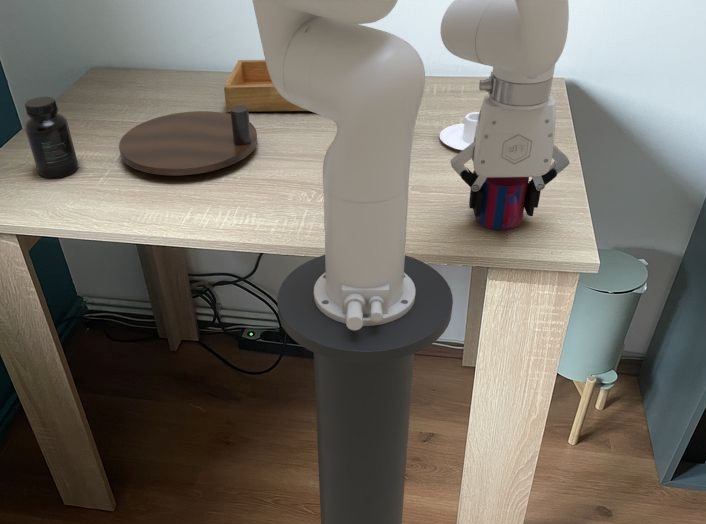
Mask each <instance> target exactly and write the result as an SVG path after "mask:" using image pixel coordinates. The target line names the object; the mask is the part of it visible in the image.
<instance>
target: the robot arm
mask: <svg viewBox="0 0 706 524" xmlns="http://www.w3.org/2000/svg"><path fill="white" fill-rule="evenodd" d="M398 1H399V0H252V4H253V9H254V14H255V19H256V24H257V28H258V33H259V38H260V44H261V46H262V52H263V56H264V60H265V61H266V65H267V69H268V72H269V75H270V78H271V80H272V83H273V85H274V87H275V88H276V90H277V91H278V93H279V94H280V95H281V96H282V97H283V98H284V99H286V100H287V101H289V102H291V103H293V104H295V105H297V106H299V107H301V108H304V109H306V110H309V111H308V112H312V113H313V114H317V115H320V116H322V117H323V118H325V119H328V120H331V121H332V122H334V123H335V125H336V134H335V136H334V138H333V140H332V141H331V143H330V145H329V146H328V148H327V150H326V152H325V155H324V158H323V161H322V162H323V163H322V187H323V188H322V189H323V226H324V227H323V228H324V229H323V230H324V255H325V268H326V272H325V273H324V274H323V275H321V276H320V277H319V279H318V280H317V281H316V284H315V286H314V301H315V303H316V306H317V307H318V308H319V310H320V311H321V312H322V313H324V314H325V315H326V316H328V317H329V318H331V319H333V320H335V321H338V322H341V323H344V324H346V325H347V327H348V328H349V329H351V330H359V329H360V328H362V326H375V325H381V324H385V323H389V322H392V321H394V320H396V319H398V318H400V317H402V316H403V315H405V314H406V313H407V312H408V311H409V310H410V309H411V308H412V306H413V304H414V301H415V292H416V289H415V285H414V283H413V281H412V280H411V278H410V277H409V276H408V275H406V274H405V273H404V262H405V255H406V242H407V227H408V226H407V222H408V205H409V187H410V171H411V170H410V169H411V156H412V146H413V140H414V134H415V128H416V124H417V119H418V115H419V111H420V108H421V104H422V100H423V96H424V93H425V86H426V70H425V66H424V62H423V60H422V57H421V56H420V54H419V52H418V51H417V50H416V48H414V46H412V44H411V43H409V42H408V41H407V40H406V39H403V38H402V37H400V36H398V35H396V34H394V33H391V32H388V31H385V30H381V29H378V28H374V27H371V26H367V24H373V23H377V22H378V21H380V20H382V19H384V18H386V17H387V16H388V15H390V13H391V12H392V11H393V9H394V8H395V6H396V5H397V3H398ZM569 7H570V6H569V0H453V1H451V3H450V4H449V6H448V7H447V8H446V10H445V12H444V14H443V16H442V18H441V23H440V32H439V33H440V39H441V41H442V44H443V46H444V47H445V49H446V50H447V51H448V52H449V53H450V54H451V55H453V56H455V57H457V58H459V59H462V60H465V61H469V62H473V63H476V64H480V65H484V66H489V67H492V71H490V75H489V76H488V78H485V79H479V83H478V90H479V91H480V92H483V91H484V92H485V93H487V94H486V95H485V96H484V98H483V100H482V103H481V106H480V110H479V112H480V113H479V117H478V121H477V126H476V130H475V135H474V141H473V143H472V144H470V145H469V146H468V147H466V148H465V149H464V150H460V152H459V153H457V154H456V155H455V156H453V157H452V158H451V159H450V166H451V168H452V170H454V171H455V172H456V173H457V175H459V176H460V178H461V180H462V181H463V182H464V183H465V184H466V185H468V187H470V190H469V191H470V192H469V200H468V206H469V209H470V210H472V211H473V214H474V217H475V218H476V217H479V216H480V215H481V207H482V199H483V190H482V185H483V183H484V182H485V180H486V179H487V177H529V178H531V179H530V180H529V182H528V188H527V194H526V200H525V206H524V211H525V214H526V215H527V216H528V217H533V216H534V211H535V208H536V209H538V207H539V203H540V198H541V193H542V191H544V189H545V188H546V185H548V184H549V183H550V182H552V181H553V180H554V179H555V178H556V177H557V176H558V174H560V173H561V172H562V171H564V170H565V169H566V168H567V167H568V166H569V165H570V163H571V162H570V160H569V158H568V156H567V155H566V154H565V153H564V152H563V151H562V150H561V149H560V148H559V147H558V146H556V145H555V136H556V135H555V134H556V119H557V106H556V105H557V104H556V103H557V102H556V100H555V98H554V97H553V96H552V95H551V92H552V87H553V80H554V74H555V69H556V63H557V62H558V61H559V59H560V58H561V56H562V54H563V51H564V49H565V47H566V42H567V38H568V32H569V19H570V12H569V11H570V9H569ZM365 24H366V25H365ZM470 160H471V161H472V162H473V171H471V170H470V169H469V168H468V167H467V166H466V165H465V164H466V163H467V162H469V161H470ZM553 160H554V161H553Z"/></svg>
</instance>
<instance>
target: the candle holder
mask: <svg viewBox="0 0 706 524" xmlns="http://www.w3.org/2000/svg"><path fill="white" fill-rule="evenodd" d="M479 113H480V111H479V112H478V111H473V112H469V113H467V114H466V115H465V116H464V122H462V123H456V124H455V123H454V124H452V125H449V126H447V127H445V128H443V129H442V130H441V131H440V132H439V139H440V141H441V142H442V143H443V144H444V145H446V146H448V147H450V148H453V149H455V150H459V151H463V150H464V149H465V148H466V147H468V146H469V145H470V144H472V143H473V141H474V135H475V130H476V126H477V121H478V117H479Z"/></svg>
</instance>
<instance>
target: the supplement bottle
mask: <svg viewBox="0 0 706 524" xmlns="http://www.w3.org/2000/svg"><path fill="white" fill-rule="evenodd" d="M24 108H25V111H26V116H27V117H28V118H27V119H26V121H25V123H24V130H25V134H26V138H27V140H28V143H29V146H30V150H31V153H32V156H33V160H34V163H35V166H36V170H37V173H38V174H39V175H40V176H42V177H43V178H47V179H60V178H64V177H67V176H70V175H72V174H74V173H75V172H77V170H78V168H79V162H78V157H77V153H76V150H75V146H74V141H73V138H72V135H71V130H70V127H69V123H68V119H67V117H65V115H64V114H62V113H60V112H59V107H58V105H57V101H56V99H55V98H54V97H52V96H46V95H45V96H37V97H32V98H30V99H28V100H26V102H25V103H24Z"/></svg>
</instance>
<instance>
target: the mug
mask: <svg viewBox="0 0 706 524" xmlns="http://www.w3.org/2000/svg"><path fill="white" fill-rule="evenodd" d="M529 181H530V177H487V179H486V180H485V182H484V183H483V185H482V190H483V199H482V207H481V215H480V216H479V217H475V220H476V222H477V223H478V224H479V225H481V226H483V227H485V228H488V229H491V230H498V231H506V230H511V229H515V228H516V227H518V226H519V225H521V223H522V221H523V219H524V218H523V217H524V211H525V208H524V206H525V200H526V194H527V188H528V183H529Z"/></svg>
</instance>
